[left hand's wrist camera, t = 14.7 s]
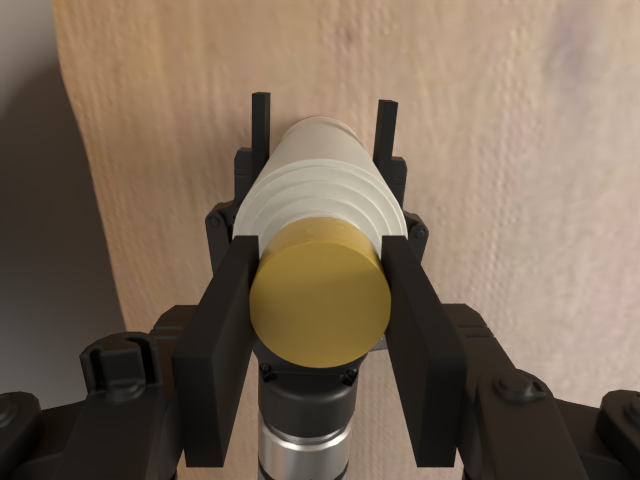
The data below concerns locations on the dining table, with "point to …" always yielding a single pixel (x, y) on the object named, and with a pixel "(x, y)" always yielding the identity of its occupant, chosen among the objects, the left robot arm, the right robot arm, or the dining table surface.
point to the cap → (320, 293)
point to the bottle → (320, 185)
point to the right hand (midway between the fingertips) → (324, 97)
